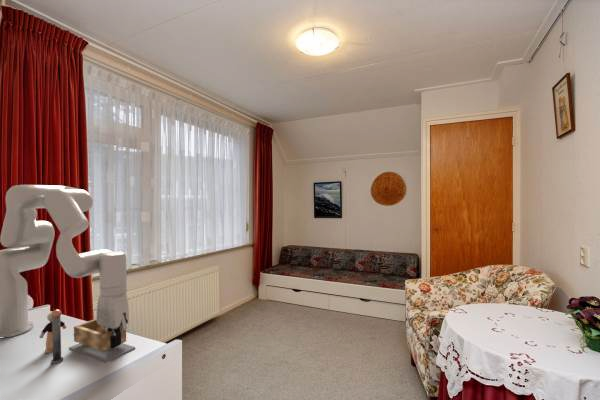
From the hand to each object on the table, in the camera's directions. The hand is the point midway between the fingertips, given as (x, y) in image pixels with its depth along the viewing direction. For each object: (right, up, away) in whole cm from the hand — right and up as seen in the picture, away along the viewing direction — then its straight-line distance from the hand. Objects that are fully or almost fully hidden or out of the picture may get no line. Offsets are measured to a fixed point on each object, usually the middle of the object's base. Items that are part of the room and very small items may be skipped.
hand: (114, 345), depth 99 cm
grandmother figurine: (-22, -3, +3) cm, 22 cm away
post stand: (-15, -3, -5) cm, 16 cm away
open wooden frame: (-7, 0, +3) cm, 7 cm away
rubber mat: (-6, -3, +3) cm, 7 cm away
